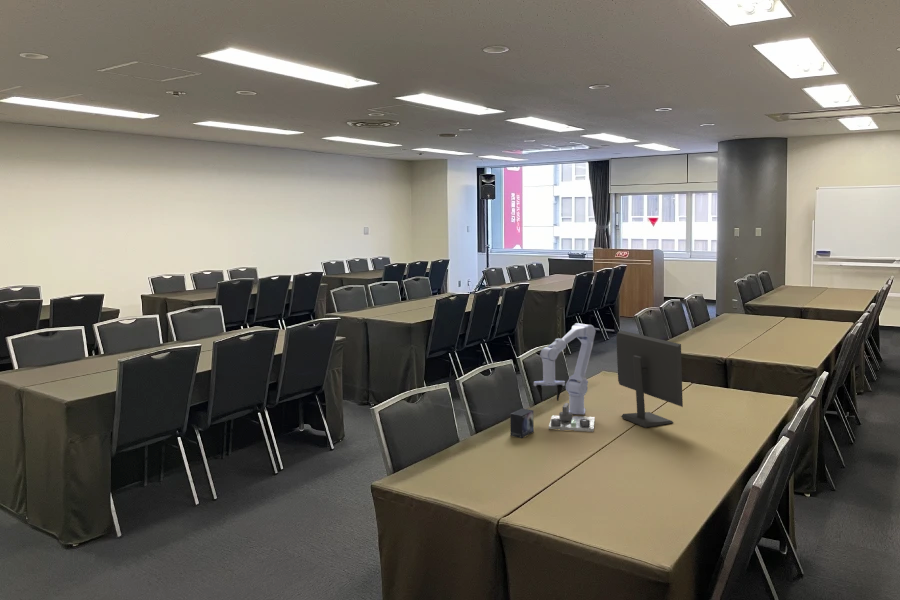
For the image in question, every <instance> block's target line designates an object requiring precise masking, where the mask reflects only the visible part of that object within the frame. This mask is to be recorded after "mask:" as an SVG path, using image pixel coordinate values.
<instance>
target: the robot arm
mask: <svg viewBox="0 0 900 600" xmlns="http://www.w3.org/2000/svg"><path fill="white" fill-rule="evenodd" d="M596 332H597V330H596V329H595V326H594V325H592V324H585V323H579V322H576V323H574V324H573V325H572V326H571V329H570V330H569V331H568V332H567V333H566V334H564V336H563V337H562V338H559V337H558V338H555V339H554V341H553V342H552V343H551V344H549V345H548V346H546V347H543V348H542V349H541V350H540V353H539V356H540V358H541V361H542V377H543V378H542V380H536V381H533V386H534V387H535V388H536V389H537V392H538V395H539V399H540V401H541V402H543V394H542V393H543V388H542V387H544V386H547V387H548V386H549V387H550V386H556V401H557V402H558V401H559V400H560V399H559V398H560V395H561V393H562V390H563V388H564V387H563V386H565V390H566V392H567V393H568V395H569V396H568V399H569V402H568V403H569V412H571V413H572V415H585V414H586V408H585V396H586V394H587V392H588V383H589V381H588V380H587V378H586V374H587V370H588V366H589V362H590V357H591V354H592V349H593V346H594V340H595V335H596ZM576 338H577V339H578V340H579V342H580V343H581V345H580V348H579V352H578V357H577V360H576V364H575V368H574V372H573V374H572V375H570V376H569V377H568V380H567V381H565V380H556V360H557V358H558V357H559V354H560V353H561V352H562V351H564V350H565V349H566V348H567V344H569V343H570V342H571V341H573V340H575V339H576ZM565 382H566V383H565Z"/></svg>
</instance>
